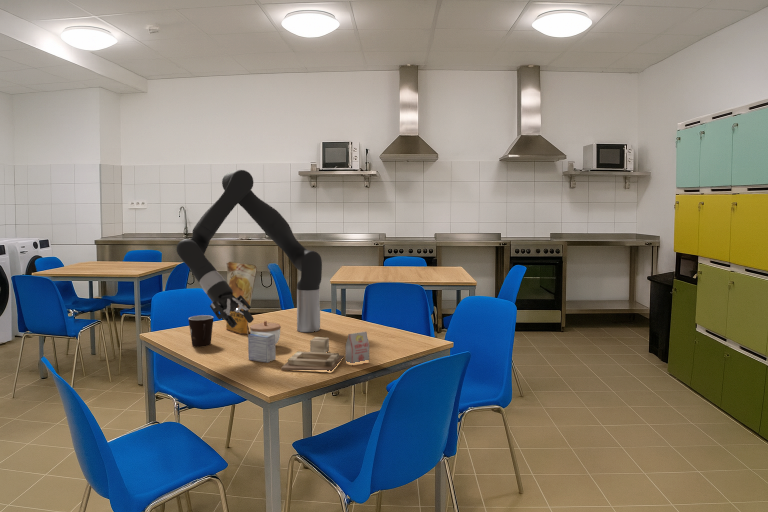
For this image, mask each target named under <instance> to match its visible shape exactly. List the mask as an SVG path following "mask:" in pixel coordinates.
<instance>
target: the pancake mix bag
mask: <svg viewBox="0 0 768 512" xmlns="http://www.w3.org/2000/svg"><path fill="white" fill-rule="evenodd" d="M226 271H227V272H226V277H227V278H226V282H227V283H228V285H229V286H230V287H231V289H232V290H233V296H234V297H236V298H237V297H239V296H240V295H241V296H242V297H243V298H244V299H245V300H246V302H247V303H248V304H249V305H250V306H251V304H252V300H253V299H252V297H253V293H254V287H255V281H256V277H257V273H258V268H257V267H256V265H254V264H251V263H243V262H236V261H228V262H226ZM244 306H245V307H246V305H244ZM238 307H239V305H238ZM238 307H237V308H238ZM250 309H251V308H250ZM250 309H249V313H251V312H250V311H251V310H250ZM241 310H242V311H243V309H241ZM230 315H231V316H232V317H233V319H234V320H235V321H236V323H237V325H236V326H235V327H234V328H231V326H229V324H228V323H227V322H226V325H225V329H226V330H227V331H229V332H232V333H236V334H240V335H249V333H250V330H249V329H250V326H249V323H248V321H247V320H246V319H245V317H244V316H243V314H241V313H239V312H235V311H231V312H230ZM230 315H229V316H230Z"/></svg>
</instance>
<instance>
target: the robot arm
mask: <svg viewBox="0 0 768 512" xmlns="http://www.w3.org/2000/svg"><path fill="white" fill-rule="evenodd" d="M222 177H223V178H222V179H221V186H222V188H223V190H224V191H223V193H222V194H221V196H219V198H218V199H217V200H216V201H215V202H214V203H213V204H212V205H211V206H210V207H209V208H208V209H207V210H206V211H205V212H204V214H203V215H202V216H201V217H200V219H199V220H198V221H197V223H196V224H195V225H194V227H193V228H192V236H191V239H189V238H185V239H181V240H180V241H179V242H178V243H177V245H176V252H177V255H178V257H179V258H180V259H181V261H182V262H183V263H184V264H185V265H186V266H187V267H188V269H190V271H191V273H192V275H193V276H194V278H195V279H196V281H197V282H198V284H199V285H200V286H201V289H202V290H203V292H204V293H205V294H206V295H207V297H208V298H209V299H210V300H211V303H210V305H209V308H210V309H211V310H212V312H213V313H214V315H215V316H216V317H217V319H218V320H221V319H222V320H225V322H226V324H227V323H228V324H229V326H231V328H234V327H235V326H236V325H237V323H236V321H235V320H234V319H233V317H232V316H231V315H230V312H231V311H235V312H239V313H241V314H243V316H244V317H245V319H246V320H247V321H248V324H251V323H253V321H254V316H253V315H252V314H251V312H249V309H251V308H252V306H251V305H249V304H248V303H247V302H246V300H245V299H244V298H243V297H242V296H241V295H240V296H239V297H237V298H236V297H234V296H233V290H232V289H231V287H230V286H229V285H228V283H227V280H226V279H225V278H224V276H223V275H221V273H219V271H218V270H217V269H216V268H215V267H214V265H213V264H212V263H211V262H210V261H209V260H208V259H207V257H206V256H205V253H206V251H207V249H208V246H209V244H210V241H211V240H212V238H213V237H214V236H215V235H216V233H217V232H218V230H219V229H220V227H221V226H222V224H223V223H224V222H225V220H226V219H227V217H228V216H229V215H230V213H231V212H232V211H233V210H234V208H235V207H236V206H237V205H239V206H240V207H241V208H242V209H243V210H245V212H246V213H247V214H248V215H249V216H250V217H251V218H252V220H253V221H254V222H255V223H256V224H257V225H258V226H259V228H260V229H262V231H263V233H265V234H266V235H267V236H268V237H269V238H270V239H271V240H272V241H273V243H274V244H276V245H277V246H278V247H279V248H280V249H281V250H282V251H283V253H284V254H285V255H286V256H287V257H288V259H289V260H290V262H291V263H292V265H293V266H294V267H295V268H296V269H297V270H298V271H300V280H299V281H297V283H296V331H297V332H301V333H313V332H314V331H315V332H318V331H320V329H321V306H320V286H321V282H322V276H323V275H322V273H323V271H322V270H323V263H322V262H323V260H322V256H321V254H320V253H318V252H317V251H314V250H309V249H307V248H305V247H304V246H303V245H302V244H301V242H299V241H298V240H297V238H296V237H295V235H294V232H293V230H292V228H291V226H290V224H289V223H288V222H287V220H286V219H285V218H284V217H283V215H282V214H281V213H280V212H279V211H278V210H277V209H275V207H272V206H271V205H270V204H268V203H267V202H265V201H264V200H262V199H261V198H259V196H257V195H256V194H255V193H254V192H253V190H252V189H253V188H254V177H253V176H252V174H251V173H250V172H248V171H247V170H245V169H236V170H233V171H231V172H229V173H226V174H225V175H224V176H222ZM238 305H239V307H238ZM244 305H246V307H245V306H244ZM237 307H238V308H237ZM241 309H243V311H242V310H241ZM229 315H230V316H229Z"/></svg>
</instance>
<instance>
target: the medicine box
mask: <svg viewBox="0 0 768 512" xmlns="http://www.w3.org/2000/svg"><path fill="white" fill-rule="evenodd" d="M247 340H248V343H247V344H248V345H247V346H248V347H247V349H248V360H249V361H254V362H261V363H267V364H268V363H270V361H271V362H272V361H275V360H276V358H277V357H276V355H277V354H276V344H275V334H270V333H263V332H254V333H250V334H247Z"/></svg>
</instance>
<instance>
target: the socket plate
mask: <svg viewBox="0 0 768 512" xmlns="http://www.w3.org/2000/svg"><path fill="white" fill-rule="evenodd" d="M343 357H344V358H345V355H344V354H343V355H340V353H336V352H328V353H322V352H310V351H302V350H301V351H300V350H298V351H296V352H295V353H294V354H293V355H292V356H290V357H289V358H288V359H287V362H286V363H285V364H284V365H282V366H281V368H280V369H281V371H282V370H327V371H329V370H330V371H332V370H333V369H334V368H335V367H336V366H337V364H338V363H339V362H340V361H341V359H342V358H343Z"/></svg>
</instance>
